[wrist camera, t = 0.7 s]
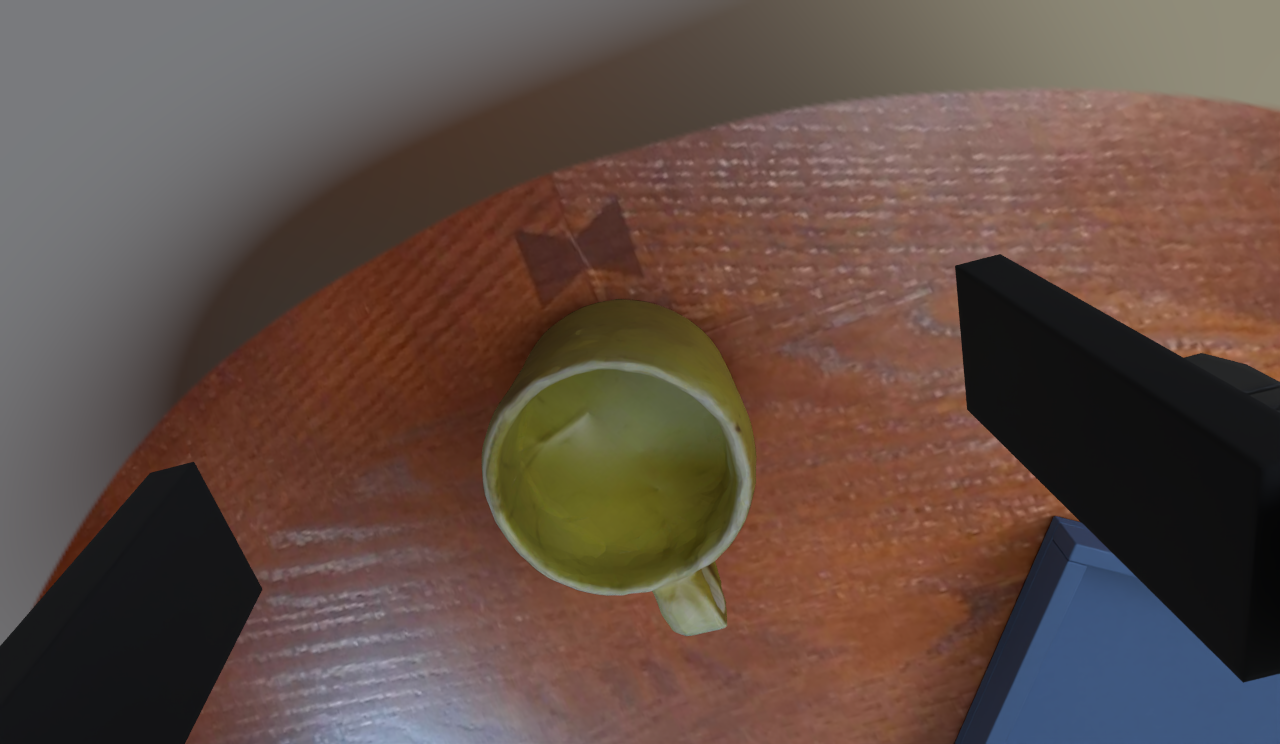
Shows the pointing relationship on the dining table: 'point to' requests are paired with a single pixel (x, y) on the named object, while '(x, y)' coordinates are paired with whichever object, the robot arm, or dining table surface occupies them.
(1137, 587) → the blue tray
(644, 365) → the mug
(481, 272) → the dining table surface
